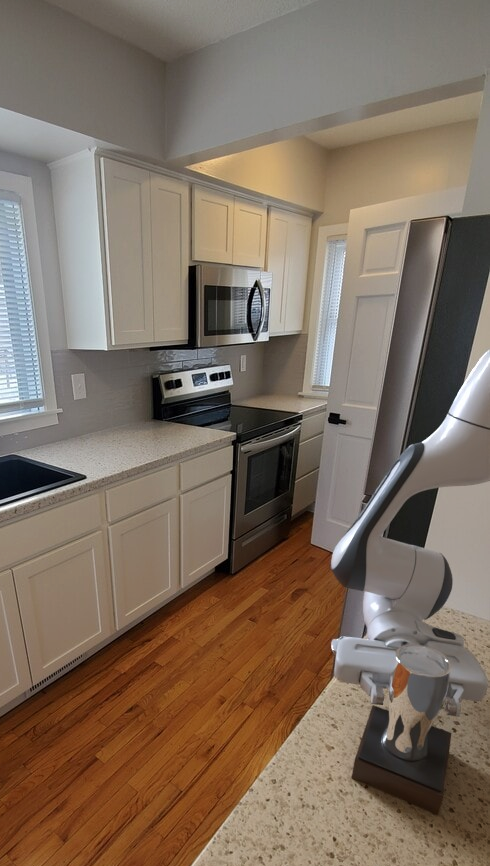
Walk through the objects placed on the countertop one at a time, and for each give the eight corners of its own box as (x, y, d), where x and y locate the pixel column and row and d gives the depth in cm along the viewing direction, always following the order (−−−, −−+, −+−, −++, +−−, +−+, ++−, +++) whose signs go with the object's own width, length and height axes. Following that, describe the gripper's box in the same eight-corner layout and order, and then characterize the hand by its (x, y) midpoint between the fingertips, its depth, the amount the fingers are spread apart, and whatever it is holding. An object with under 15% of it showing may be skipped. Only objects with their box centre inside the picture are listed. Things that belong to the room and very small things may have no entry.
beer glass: (431, 734, 71) (453, 651, 65) (430, 771, 65) (454, 684, 59) (380, 718, 74) (396, 637, 68) (375, 752, 68) (391, 668, 62)
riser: (369, 722, 78) (372, 703, 77) (446, 750, 73) (452, 731, 71) (351, 778, 69) (354, 757, 68) (438, 815, 64) (444, 794, 62)
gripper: (332, 620, 79) (337, 676, 67) (473, 636, 74) (506, 700, 62) (328, 651, 82) (332, 711, 69) (464, 669, 77) (494, 737, 64)
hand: (415, 706), depth 66 cm, fingers open, 8 cm apart
